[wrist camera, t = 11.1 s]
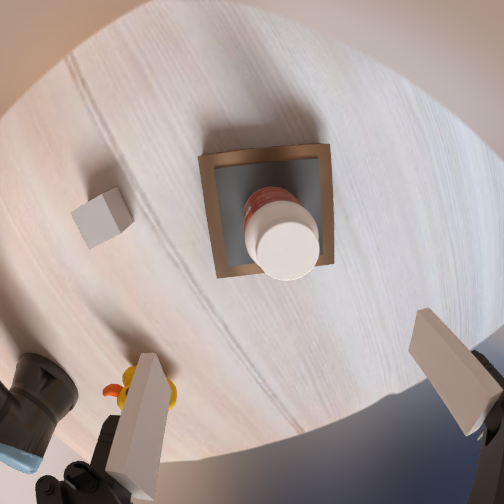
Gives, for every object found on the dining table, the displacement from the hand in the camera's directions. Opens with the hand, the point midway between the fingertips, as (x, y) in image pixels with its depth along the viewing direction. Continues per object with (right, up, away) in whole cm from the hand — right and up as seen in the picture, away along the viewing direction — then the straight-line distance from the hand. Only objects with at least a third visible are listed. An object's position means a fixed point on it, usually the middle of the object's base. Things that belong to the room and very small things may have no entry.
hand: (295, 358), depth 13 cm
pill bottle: (0, +9, +18) cm, 21 cm away
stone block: (-20, +10, +21) cm, 31 cm away
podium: (0, +11, +22) cm, 25 cm away
